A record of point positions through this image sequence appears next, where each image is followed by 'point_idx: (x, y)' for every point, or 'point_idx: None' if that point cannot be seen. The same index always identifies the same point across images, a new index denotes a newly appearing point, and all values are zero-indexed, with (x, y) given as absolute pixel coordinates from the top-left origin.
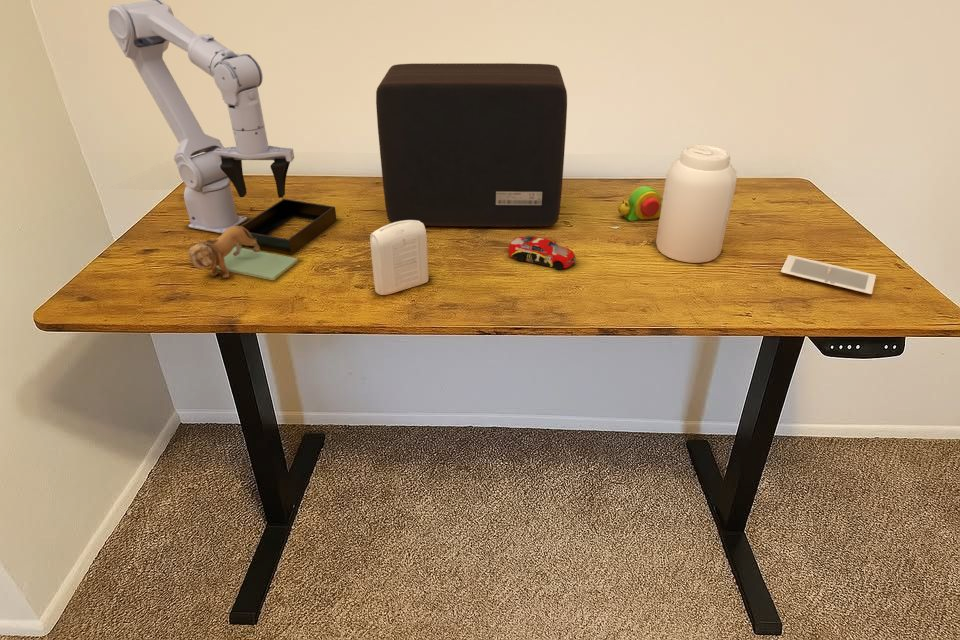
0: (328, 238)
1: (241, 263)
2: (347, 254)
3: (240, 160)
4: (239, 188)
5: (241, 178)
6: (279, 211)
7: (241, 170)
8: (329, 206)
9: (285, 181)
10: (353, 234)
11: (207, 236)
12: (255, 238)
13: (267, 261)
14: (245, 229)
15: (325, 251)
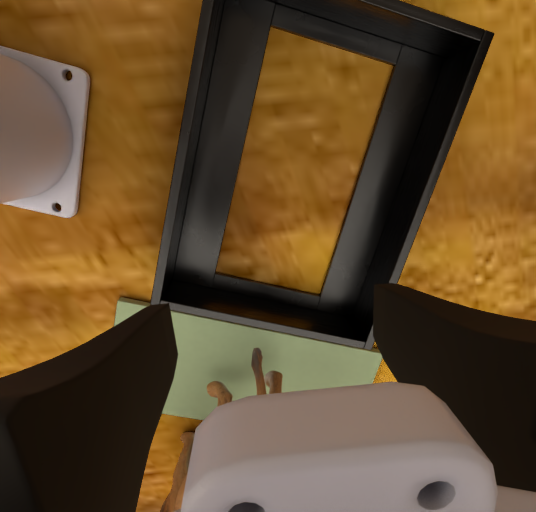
0: (442, 204)
1: (239, 396)
2: (510, 297)
3: (52, 425)
4: (163, 407)
5: (136, 377)
6: (215, 29)
7: (108, 381)
8: (469, 31)
9: (441, 299)
10: (521, 166)
11: (25, 233)
12: (257, 355)
13: (305, 377)
14: None
15: (445, 288)
